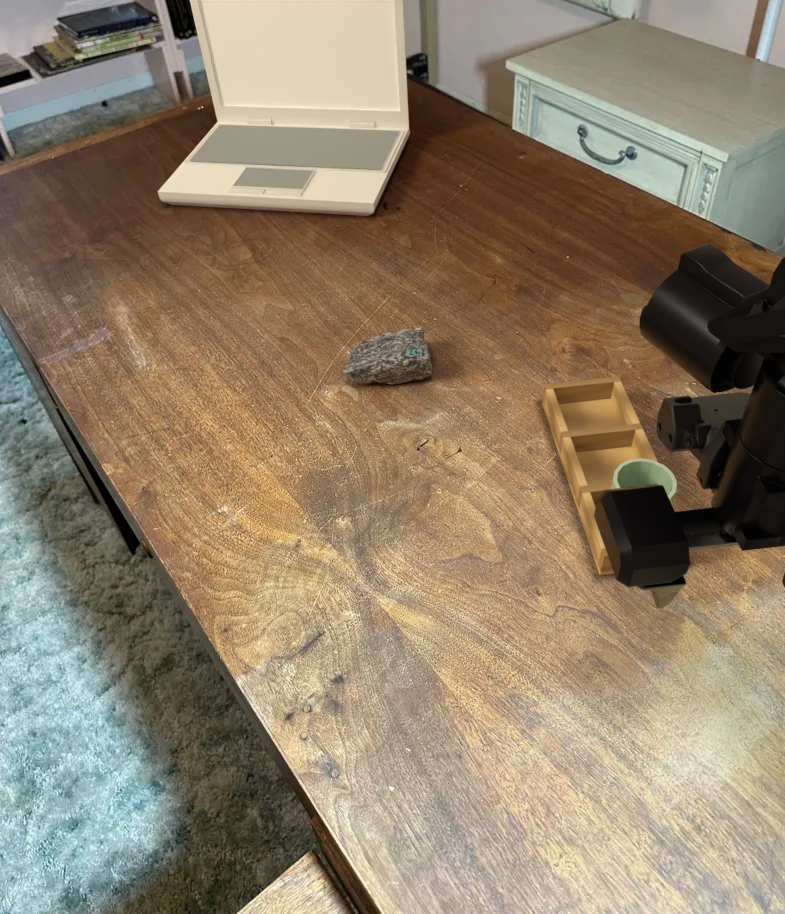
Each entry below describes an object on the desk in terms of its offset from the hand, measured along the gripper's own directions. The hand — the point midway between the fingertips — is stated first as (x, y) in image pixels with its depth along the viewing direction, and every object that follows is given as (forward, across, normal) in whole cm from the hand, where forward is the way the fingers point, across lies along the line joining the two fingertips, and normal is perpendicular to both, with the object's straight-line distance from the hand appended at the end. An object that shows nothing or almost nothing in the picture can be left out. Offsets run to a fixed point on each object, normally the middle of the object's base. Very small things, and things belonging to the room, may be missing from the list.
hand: (722, 595), depth 53 cm
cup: (+11, 0, -15) cm, 18 cm away
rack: (+12, 0, -22) cm, 25 cm away
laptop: (+12, +32, -95) cm, 101 cm away
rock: (+12, +20, -42) cm, 48 cm away
